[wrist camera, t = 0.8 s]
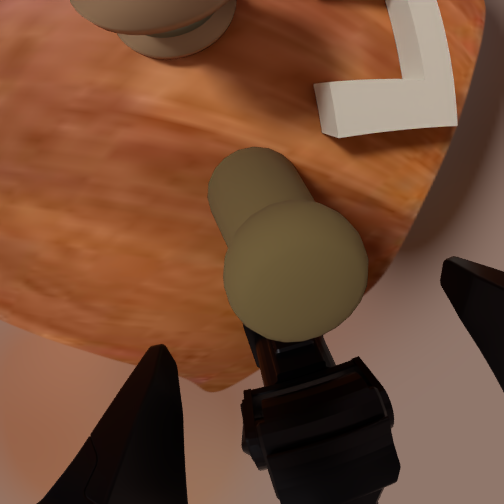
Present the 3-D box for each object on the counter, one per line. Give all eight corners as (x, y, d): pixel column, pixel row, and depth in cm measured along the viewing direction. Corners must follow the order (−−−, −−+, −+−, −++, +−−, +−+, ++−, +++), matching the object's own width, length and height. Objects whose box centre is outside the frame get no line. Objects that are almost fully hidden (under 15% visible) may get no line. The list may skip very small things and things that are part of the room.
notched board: (435, 120, 17) (457, 125, 15) (322, 132, 17) (338, 138, 15) (400, -39, 10) (419, -48, 8) (275, -54, 10) (284, -71, 8)
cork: (203, 150, 16) (200, 222, 7) (301, 145, 17) (411, 207, 8) (211, 240, 19) (224, 376, 10) (299, 231, 20) (373, 348, 11)
